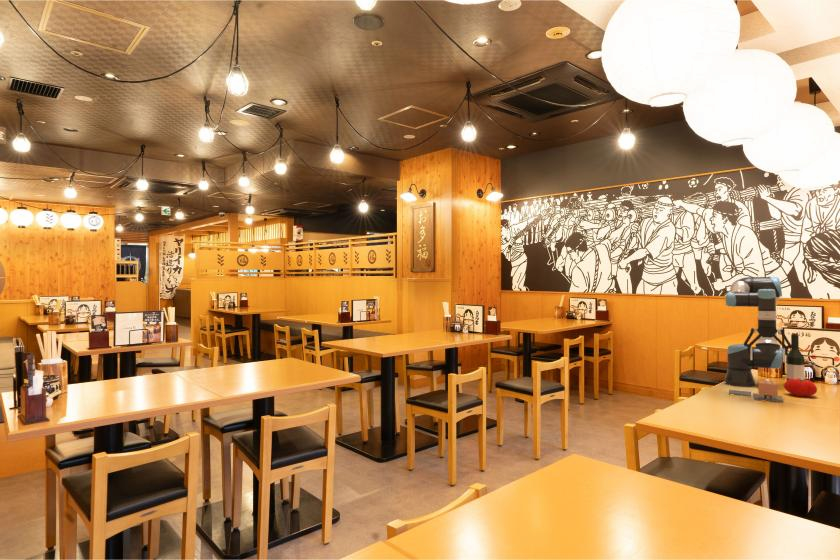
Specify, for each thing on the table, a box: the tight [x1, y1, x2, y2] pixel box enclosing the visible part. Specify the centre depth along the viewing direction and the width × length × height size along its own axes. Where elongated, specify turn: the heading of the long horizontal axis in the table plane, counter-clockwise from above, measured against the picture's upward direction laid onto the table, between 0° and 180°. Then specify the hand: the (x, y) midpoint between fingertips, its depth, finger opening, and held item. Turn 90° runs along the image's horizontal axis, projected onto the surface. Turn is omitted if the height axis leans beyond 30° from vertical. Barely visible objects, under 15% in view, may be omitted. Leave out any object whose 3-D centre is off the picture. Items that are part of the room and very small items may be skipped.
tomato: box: [783, 379, 818, 397], centre depth 258 cm, size 14×13×9 cm
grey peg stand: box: [752, 392, 785, 404], centre depth 251 cm, size 12×12×7 cm
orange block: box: [758, 378, 779, 396], centre depth 251 cm, size 8×8×7 cm
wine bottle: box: [785, 332, 806, 381], centre depth 282 cm, size 8×8×30 cm
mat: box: [728, 389, 752, 397], centre depth 264 cm, size 10×10×1 cm
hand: (767, 360), depth 251 cm, fingers open, 13 cm apart
